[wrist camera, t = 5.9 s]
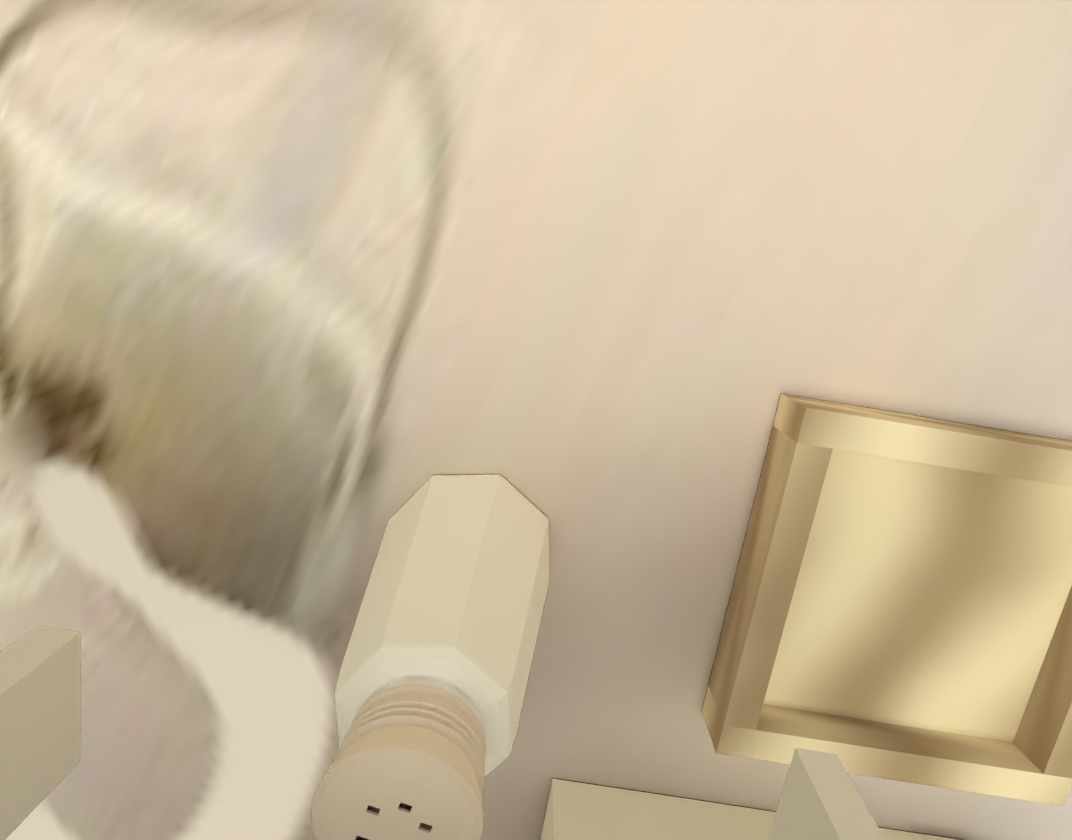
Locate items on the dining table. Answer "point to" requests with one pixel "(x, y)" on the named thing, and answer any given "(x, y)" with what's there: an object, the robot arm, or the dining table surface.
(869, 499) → the tray
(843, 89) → the dining table surface
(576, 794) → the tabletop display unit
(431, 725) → the pepper shaker
